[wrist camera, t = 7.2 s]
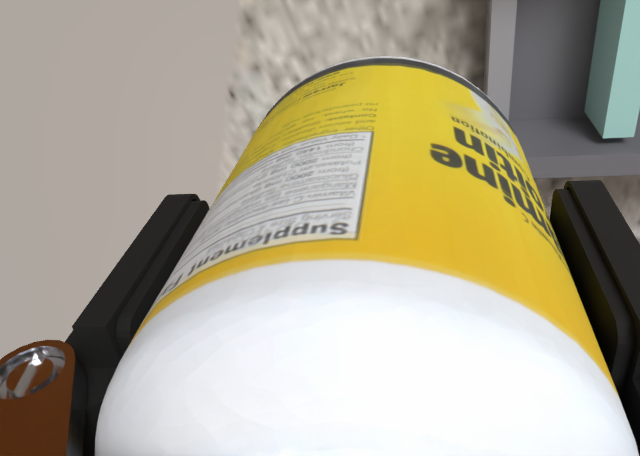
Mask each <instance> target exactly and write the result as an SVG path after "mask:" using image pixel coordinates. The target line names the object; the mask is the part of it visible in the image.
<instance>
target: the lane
mask: <svg viewBox="0 0 640 456" xmlns="http://www.w3.org/2000/svg"><path fill="white" fill-rule="evenodd" d="M600 1H601V0H487V9H486V31H485V53H484V75H483V93H484V94H485V95H487V96H488V97H489V98H490V99H491V100H492V101H493V103H494V104H495V105H496V106H497V107H498V108H499V109H500V110H501V112H502V113H503V114H504V116H505V117H506V119H507V120H508V122H509V123H510V125H511V127H512V129H513V130H514V132H515V134H516V136H517V138H518V141H519V143H520V145H521V147H522V150H523V152H524V155H525V158H526V160H527V163H528V165H529V168H530V171H531V173H532V176H533V179H536V178H566V177H596V176H626V175H640V110H639V115H638V120H637V125H636V130H635V135H634V137H624V138H602V137H601V135H600V134H599V132H598V131H597V129H596V128H595V126H594V125H593V124H592V122H591V121H590V119H589V118H588V116H587V115H586V113H585V112H584V110H585V103H586V96H587V90H588V83H589V76H590V69H591V62H592V55H593V49H594V42H595V35H596V28H597V21H598V14H599V7H600Z"/></svg>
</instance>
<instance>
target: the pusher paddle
mask: <svg viewBox="0 0 640 456" xmlns="http://www.w3.org/2000/svg"><path fill="white" fill-rule="evenodd" d="M639 110H640V0H601V1H600V7H599V14H598V21H597V28H596V35H595V42H594V49H593V55H592V62H591V69H590V76H589V83H588V90H587V96H586V103H585V110H584V112H585V113H586V115H587V116H588V118H589V119H590V121H591V122H592V124H593V125H594V126H595V128H596V129H597V131H598V132H599V134H600V135H601V137H602V138H624V137H634V135H635V130H636V125H637V120H638V115H639Z"/></svg>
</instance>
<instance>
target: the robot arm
mask: <svg viewBox="0 0 640 456" xmlns="http://www.w3.org/2000/svg"><path fill="white" fill-rule="evenodd" d="M208 211H209V206H208V204H207V202H206V201H200V199H199V197H198V196H197V195H196V194H176V195H167V196H166V197H165V198H164V200H163V201H162V202H161V204H160V205H159V207H158V208H157V210H156V211H155V212H154V214H153V215H152V216H151V218H150V219H149V221H148V222H147V223H146V225H145V226H144V227H143V229H142V230H141V232H140V233H139V234H138V236H137V237H136V239H135V240H134V241H133V243H132V244H131V245H130V247H129V248H128V250H127V251H126V252H125V254H124V255H123V257H122V258H121V259H120V261H119V262H118V263H117V265H116V266H115V268H114V269H113V270H112V272H111V273H110V275H109V276H108V277H107V279H106V280H105V282H104V283H103V284H102V286H101V287H100V288H99V290H98V291H97V293H96V294H95V295H94V297H93V298H92V300H91V301H90V302H89V304H88V305H87V307H86V308H85V309H84V311H83V312H82V314H81V315H80V316H79V318H78V319H77V321H76V322H75V323H74V325H73V326H72V327H73V331H72V333H71V334H70V336H69V337H68V338H67V340H66V341H65V342H62V341H60V340H43V341H38V342H33V343H31V344H28V345H25V346H22V347H20V348H18V349H16V350H14V351H12V352H10V353H9V354H7V355H6V356H4V357H3V358H2V359H1V360H0V456H95V437H96V429H97V422H98V417H99V413H100V408H101V405H102V402H103V399H104V397H105V394H106V391H107V388H108V386H109V384H110V381H111V379H112V377H113V375H114V373H115V371H116V369H117V366H118V364H119V362H120V360H121V359H122V357H123V355H124V353H125V352H126V350H127V348H128V346H129V344H130V343H131V341H132V339H133V337H134V336H135V334H136V332H137V330H138V329H139V327H140V325H141V323H142V322H143V320H144V318H145V317H146V315H147V313H148V312H149V310H150V309H151V307H152V305H153V304H154V302H155V300H156V299H157V297H158V295H159V294H160V292H161V290H162V289H163V287H164V285H165V284H166V282H167V280H168V279H169V277H170V275H171V274H172V272H173V270H174V269H175V267H176V265H177V263H178V262H179V260H180V258H181V257H182V255H183V253H184V252H185V250H186V248H187V247H188V245H189V243H190V242H191V240H192V238H193V236H194V235H195V233H196V231H197V230H198V228H199V226H200V225H201V223H202V221H203V220H204V218H205V216H206V215H207V213H208ZM550 222H551V225H552V228H553V230H554V233H555V235H556V238H557V240H558V243H559V245H560V248H561V250H562V253H563V256H564V258H565V261H566V263H567V266H568V268H569V271H570V274H571V276H572V279H573V281H574V284H575V287H576V289H577V292H578V294H579V297H580V299H581V302H582V304H583V307H584V309H585V312H586V315H587V317H588V320H589V322H590V325H591V327H592V330H593V332H594V335H595V337H596V340H597V342H598V345H599V347H600V350H601V352H602V355H603V357H604V360H605V362H606V365H607V367H608V370H609V372H610V375H611V377H612V380H613V382H614V385H615V387H616V390H617V392H618V395H619V398H620V400H621V403H622V406H623V409H624V412H625V414H626V417H627V420H628V422H629V425H630V427H631V430H632V433H633V435H634V438H635V441H636V445H637V449H638V453H639V456H640V244H639V243H638V241H637V239H636V238H635V236H634V234H633V233H632V231H631V229H630V228H629V226H628V224H627V223H626V221H625V219H624V218H623V216H622V214H621V213H620V211H619V209H618V208H617V206H616V204H615V203H614V201H613V199H612V198H611V196H610V194H609V193H608V191H607V189H606V188H605V186H604V184H603V183H602V182H601V181H600V180H595V181H567V182H566V184H565V186H564V189H555V191H554V193H553V198H552V206H551V214H550Z"/></svg>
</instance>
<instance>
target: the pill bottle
mask: <svg viewBox="0 0 640 456" xmlns="http://www.w3.org/2000/svg"><path fill="white" fill-rule="evenodd" d="M95 456H639V453H638V449H637V445H636V441H635V438H634V435H633V433H632V430H631V427H630V425H629V422H628V420H627V417H626V414H625V412H624V409H623V406H622V403H621V400H620V398H619V395H618V392H617V390H616V387H615V385H614V382H613V380H612V377H611V375H610V372H609V370H608V367H607V365H606V362H605V360H604V357H603V355H602V352H601V350H600V347H599V345H598V342H597V340H596V337H595V335H594V332H593V330H592V327H591V325H590V322H589V320H588V317H587V315H586V312H585V309H584V307H583V304H582V302H581V299H580V297H579V294H578V292H577V289H576V287H575V284H574V281H573V279H572V276H571V274H570V271H569V268H568V266H567V263H566V261H565V258H564V256H563V253H562V250H561V248H560V245H559V243H558V240H557V238H556V235H555V233H554V230H553V228H552V225H551V222H550V220H549V217H548V215H547V212H546V210H545V207H544V204H543V202H542V199H541V197H540V194H539V191H538V189H537V186H536V184H535V181H534V179H533V176H532V173H531V171H530V168H529V165H528V163H527V160H526V158H525V155H524V152H523V150H522V147H521V145H520V143H519V141H518V138H517V136H516V134H515V132H514V130H513V129H512V127H511V125H510V123H509V122H508V120H507V119H506V117H505V116H504V114H503V113H502V112H501V110H500V109H499V108H498V107H497V106H496V105H495V104H494V103H493V101H492V100H491V99H490V98H489V97H488V96H487V95H485V94H484V93H483V92H482V91H481V90H480V89H479V88H477V87H476V86H475V85H473V84H472V83H470V82H469V81H468V80H466V79H464V78H463V77H461V76H460V75H458V74H456V73H453V72H451V71H449V70H447V69H445V68H443V67H440V66H438V65H435V64H432V63H428V62H425V61H421V60H416V59H411V58H405V57H393V56H378V57H366V58H360V59H354V60H349V61H345V62H342V63H339V64H335V65H333V66H330V67H328V68H326V69H323V70H321V71H319V72H317V73H315V74H313V75H311V76H310V77H308V78H306V79H304V80H303V81H301V82H300V83H298V84H297V85H295V86H294V87H293V88H292V89H291V90H289V91H288V92H287V93H286V94H285V95H284V96H283V97H282V98H281V99H280V100H279V101H278V102H277V103H276V104H275V105H274V106H273V107H272V109H271V110H270V111H269V112H268V113H267V115H266V117H265V118H264V120H263V121H262V123H261V124H260V126H259V127H258V129H257V130H256V132H255V133H254V135H253V137H252V139H251V140H250V142H249V144H248V146H247V147H246V149H245V151H244V152H243V154H242V156H241V158H240V159H239V161H238V163H237V164H236V166H235V168H234V169H233V171H232V173H231V174H230V176H229V178H228V179H227V181H226V183H225V184H224V186H223V187H222V189H221V191H220V193H219V194H218V196H217V198H216V199H215V201H214V203H213V204H212V206H211V208H210V209H209V211H208V213H207V215H206V216H205V218H204V220H203V221H202V223H201V225H200V226H199V228H198V230H197V231H196V233H195V235H194V236H193V238H192V240H191V242H190V243H189V245H188V247H187V248H186V250H185V252H184V253H183V255H182V257H181V258H180V260H179V262H178V263H177V265H176V267H175V269H174V270H173V272H172V274H171V275H170V277H169V279H168V280H167V282H166V284H165V285H164V287H163V289H162V290H161V292H160V294H159V295H158V297H157V299H156V300H155V302H154V304H153V305H152V307H151V309H150V310H149V312H148V313H147V315H146V317H145V318H144V320H143V322H142V323H141V325H140V327H139V329H138V330H137V332H136V334H135V336H134V337H133V339H132V341H131V343H130V344H129V346H128V348H127V350H126V352H125V353H124V355H123V357H122V359H121V360H120V362H119V364H118V366H117V369H116V371H115V373H114V375H113V377H112V379H111V381H110V384H109V386H108V388H107V391H106V394H105V397H104V399H103V402H102V405H101V408H100V413H99V417H98V422H97V429H96V437H95Z"/></svg>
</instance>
